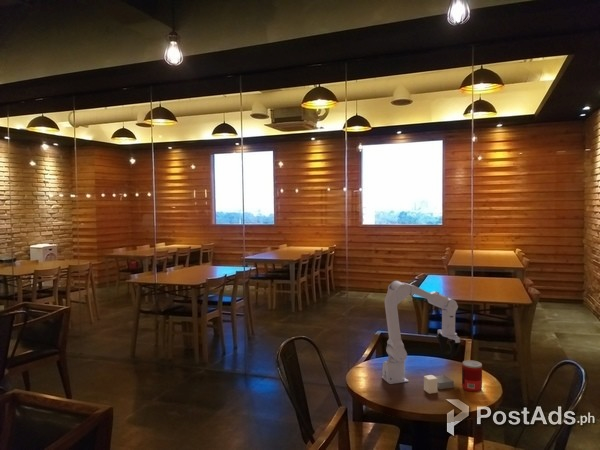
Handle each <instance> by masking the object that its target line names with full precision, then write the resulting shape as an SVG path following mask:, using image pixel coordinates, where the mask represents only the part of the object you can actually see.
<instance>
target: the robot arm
mask: <svg viewBox="0 0 600 450" xmlns="http://www.w3.org/2000/svg"><path fill="white" fill-rule="evenodd" d="M414 295H416V296H418V297H421V298H423V299H425V300H427V303H428V304H430V305H433V306H434V307H436V308H440V309H441V329H437V335H435V337H436V339H437V341H438V343H439V346H440V347H439V348H440V351H441V352H446V350H447V345H449V350H450V351H449V353H450V356H451V358H452V357H456V356H457V353H458V349H459V347H460V346H461V345H462V341H461V337H459V336H458V333H457V332H456V315H457V314H456V313H457V310H458V308H459V305H458V303H457V301H456V300H454V299H453V298H449V296H448V295H447V294H446V295H443V294H440V291H438V290H435V291H431V292H429V291H426V290H424V289H422V288H421V287H418V286H416V285H413V284H410V283H407V282H403V281H402V282H401V281H400V280H393V281H391V283H390V284H388V287H387V292H386V295H385V298H384V301H383V302H384V308H385V317H386V325H387V333H388V339H387V341H386V343H387V345H386V347H385V350H386V353H387V355H388V358H387V360H385V361H383V362H382V372H381V374H382V376H381V378H382V379H383V380H384V381H385V382H386V383H388V384H390V385H393V384H400V383H406V382H407V383H408V382H409V379H407V378H406V375H405V372H406V371H405V370H406V369H405V367H406V363H405V361H406V360H407V357H408V353H407V350H406V349H405V344H404V343H403V340H402V336H401V335H402V334H401V328H400V319H399V311H398V310H399V309H398V305H399V303H400V302H402V301H404V300H406V299H407V298H408V297H409V296H411V297H412V296H414ZM448 339H449V340H448Z"/></svg>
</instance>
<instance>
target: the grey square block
mask: <svg viewBox="0 0 600 450" xmlns="http://www.w3.org/2000/svg"><path fill="white" fill-rule="evenodd" d="M434 376H435V377H436V378H438V383H437V390H443V389H450V388H454V385H455V382H454V380H453V379H451V378H450V377H448V376H447V375H445V374H442V375H434Z"/></svg>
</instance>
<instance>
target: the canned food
mask: <svg viewBox="0 0 600 450" xmlns="http://www.w3.org/2000/svg"><path fill="white" fill-rule="evenodd" d="M461 387H462V389H463V390H464V391H467V392H471V393H479V392H481V391H482V389H483V364H482V362H480V361H477V360H472V359H471V360H470V359H468V360H463V361H462V363H461Z"/></svg>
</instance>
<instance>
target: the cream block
mask: <svg viewBox="0 0 600 450" xmlns="http://www.w3.org/2000/svg"><path fill="white" fill-rule="evenodd" d="M435 376H436V375H433V374H428V375H424V376H423V390H424V391H425V392H426V393H427V394H436V393H438V388H437V383H438V378H436V377H435Z"/></svg>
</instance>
